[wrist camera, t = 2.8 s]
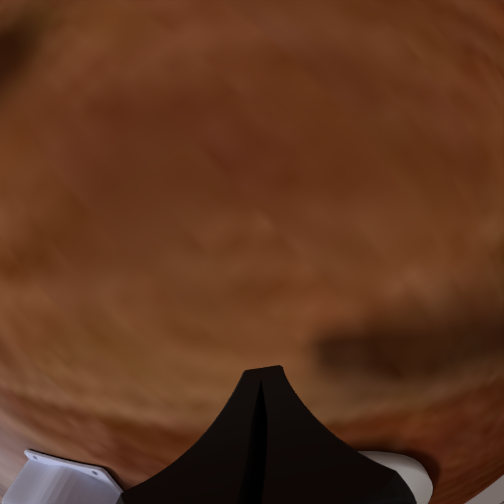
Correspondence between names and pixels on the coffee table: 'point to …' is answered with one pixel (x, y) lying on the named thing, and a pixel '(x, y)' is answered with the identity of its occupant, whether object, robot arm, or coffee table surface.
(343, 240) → the coffee table surface
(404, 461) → the turntable
